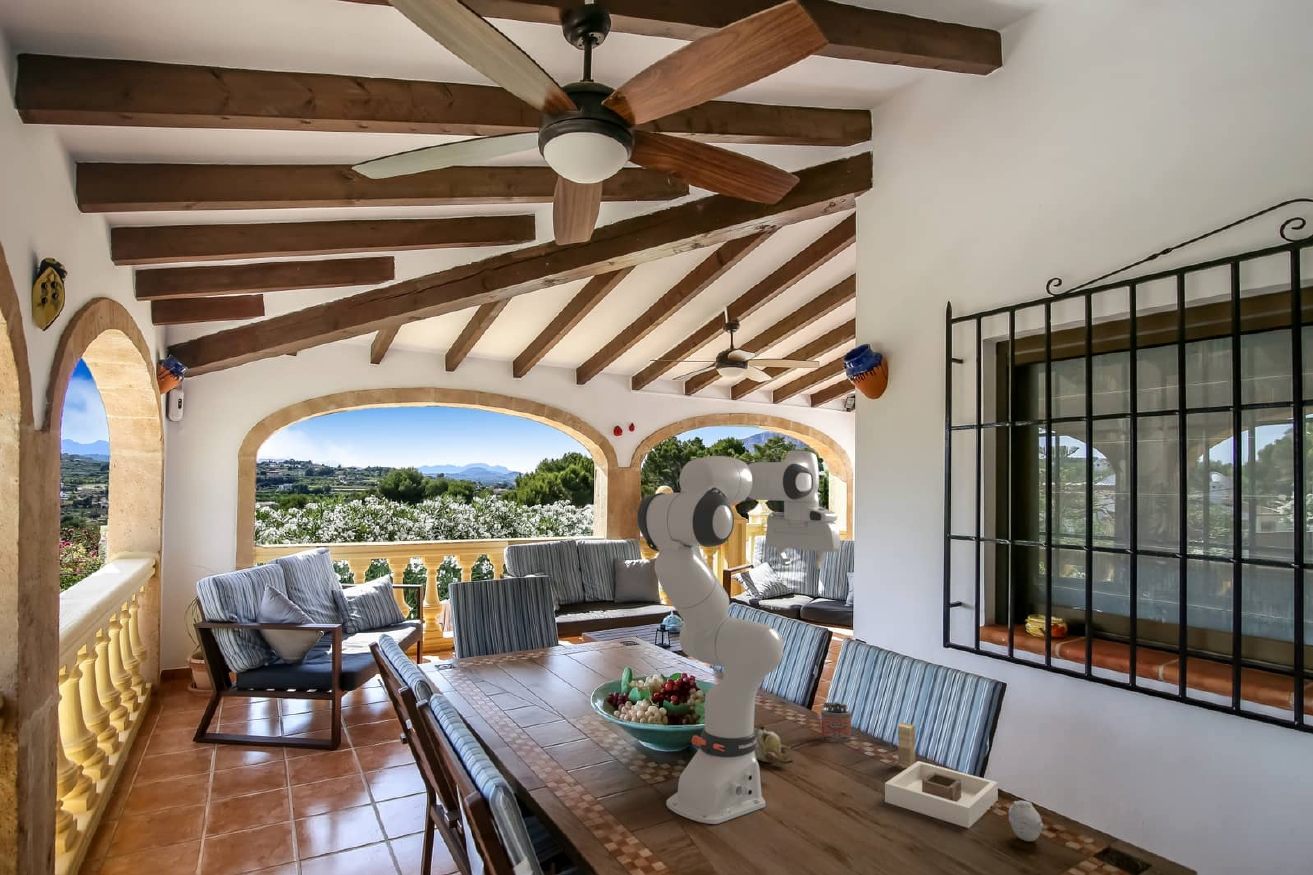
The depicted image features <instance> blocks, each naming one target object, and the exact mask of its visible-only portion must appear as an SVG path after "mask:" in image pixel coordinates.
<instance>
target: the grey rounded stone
mask: <svg viewBox="0 0 1313 875" xmlns="http://www.w3.org/2000/svg"><path fill="white" fill-rule="evenodd" d="M1008 821H1009V823H1010V826H1011V829H1012V830H1013V832H1014V834H1015V835H1016V836H1017V837H1018V838H1019V839H1020V840H1022V841H1024V842H1025V841H1026V842H1034V841H1035V840H1037V839H1039V836H1040V835H1041V833H1042V832H1043V828H1044V824H1043V821H1042V819H1041V815H1040V813H1039V812H1038V811H1037V810H1036V808H1035V807H1034V806H1033V803H1032V802H1030V801H1027V800H1016V801H1013V803H1012V804H1011V805H1010V807H1009V809H1008Z"/></svg>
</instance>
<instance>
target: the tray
mask: <svg viewBox="0 0 1313 875" xmlns="http://www.w3.org/2000/svg"><path fill="white" fill-rule="evenodd" d="M998 785H999V784H998V782H997V781H995V780H990V779H988V778H984V777H980V776H977V775H972V774H968V773H965V772H961V771H957V770H953V769H950V768H946V767H942V766H938V765H934V764H932V763H927V762H923V761H919V760H917V761H915V763H914V764H913V765H911V766H910V767H908V768H907V769H904V770H902V771H901V772H899V773H898V774H897V775H895V776H893V777H892V778H890V779H889V780H887V781H886V782H885V783H884V802H885V803H888V804H890V805H893V806H897V807H901V808H903V809H906V810H910V811H913V812H916V813H919V814H922V815H924V816H925V815H926V816H929V817H932V818H936V819H937V820H941V821H945V822H947V823H951V824H954V825H957V826H961V827H964V828H966V829H970V828H971V827H972V826H973V825H975V823H977V821H978V820H979V819H981V817H983V815H985V814H986V813H987V812H988V811H989V810H990V809H991V808H992V807H993V806H994V805H995V804H996V803H997V802H998V801H999V798H998V797H999V795H998V793H999V791H998V790H999V789H998ZM996 801H997V802H996ZM995 802H996V803H995ZM994 803H995V804H994ZM991 806H992V807H991ZM990 807H991V808H990ZM987 810H988V811H987Z"/></svg>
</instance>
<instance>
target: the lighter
mask: <svg viewBox="0 0 1313 875" xmlns="http://www.w3.org/2000/svg"><path fill="white" fill-rule="evenodd" d="M847 706H848V705H847V703H840V702H839V701H835V702H829V701H827V702H826V701H824V702H823V708H825V709H821V710H820V715H821V734H820V740H821V741H823V742H832V743H851V742H852V737H851V717H852V712H851V711H849V710H847ZM850 741H851V742H850Z"/></svg>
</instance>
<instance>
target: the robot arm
mask: <svg viewBox="0 0 1313 875" xmlns="http://www.w3.org/2000/svg"><path fill="white" fill-rule="evenodd" d="M785 457H786V458H785V459H783V460H781V461H780V462H778V461H776V462H775V461H773V462H771V461H770V462H766V461H764V462H763V461H762V462H761V461H760V462H759V461H746V462H745V461H743V460H741V459H738V458H736V457H733V456H732V457H731V456H726V455H725V456H723V455H712V456H703V457H699V458H694V459H692V460H690V461H688V462H687V463H685V465H684V466H683V467H682V469H681V471H680V472H679V473H680V474H679V478H678V479H679V486H680V487H679V488H680V492H670V493H669V492H668V493H664V492H659V493H658V492H657V493H654V494H651V495H649V496H646V497H645V498H643V500H641V502H640V504H639V506H638V510H637V514H636V519H637V525H638V529H639V531H640V534H641V536H642V537H643V538H644V540H645V541H646V545H647V547H649V548H650V549H651V550H652V551H655V552H658V554H657V556H656V558H655V560H654V572H655V574H656V578H657V579H658V582H659V585H660V587H661V588H662V591H663V592H664V594H665V596H666V597H667V599H668V600H669V602H670V604H671V605H672V606H673V607H674V609H675V610H676V612H677V613H678V615H679V616H680V618H681V619H682V621H683V624H682V625H681V628H680V631H679V644H680V648H681V650H682V651H683V653H684V654H685V655H687V656H688V657H690V658H692V659H694V660H697V661H699V662H700V663H703V664H709V665H712V666H713V665H714V666H718V667H720V668H721V667H722V668H723V671H724V673H723V677H722V681H721V682H718V683H716V684H715V685H713V686H711V688H709V689H708V690H707V692H706V694H705V696H704V727H703V729H702V733H701V735H700V736H698V735H696V734H695V735H693V736H692V738H691V744H692V745H693V746H698V750H697V752H695V754H694V756H693V757H692V759H691V760H690V761H689V763H688V764H687V766H686V767H685V768H684V769H683V771H682V773H680V775H679V779H678V786H677V792H675V793H674V794H672V795H671V796H670V797H669V798H668V799H666V802H665V803H666V804H665V805H666V807H667V809H669V810H671V811H672V812H674V813H675V814H677V815H679V816H682V817H683V818H687V819H690V820H692V821H694V822H695V821H696V822H699V823H704V824H709V825H710V824H711V825H718V824H722V823H724V822H727V821H729V820H732V819H735V818H738V817H741V816H744V815H747V814H750V813H752V812H755V811H758V810H760V809H763V808H765V807H766V800H765V798H764V797H763V796H762V785H761V775H760V774H761V773H760V772H761V771H760V765H759V762H758V759H756V756H755V751H754V750H755V749H756V731H755V730H754V729H755V712H756V711H755V706H756V698H757V693H758V690H759V688H760V685H761V683H762V682H763V680H764V679H765V678H766V677H767V676H768V675H769V674H771V673H772V672H774V671H775V670H776V669H777V668H778V666H779V665H780V663H781V661H782V659H783V655H784V642H783V639H782V637H781V635H780V633H779V631H778V630H777V629H775V628H773V627H771V626H769V625H766V624H763V623H761V622H758V621H753V620H747V619H741V618H735V617H732V616H729V615H728V612H729V609H730V598H729V595H728V593H727V591H726V590H725V588H724V586H723V585H722V584H721V582H720V580H719V578H717V576H716V575H715V573H714V571H713V570H712V568H711V567H710V566H709V564H708V563H707V562H706V561H705V560H704V558H703V555H702V553H701V550H700V547H705V548H711V547H717V546H721V545H723V544H725V543H726V542H727V541H728V540H729V538H730V536H731V535H732V532H733V529H734V526H735V525H734V524H735V515H734V512H733V509H732V505H734V504H738V503H741V502H743V501H760V500H761V501H762V500H763V501H779V502H780V501H782V502H783V510H784V512H782V511H781V512H779V511H778V512H777V511H772V512H771V513H769V514H768V515H767V517H766V525H767V526H766V530H765V539H764V541H765V545H766V546H767V547H769V548H777V554H778V556H779V557H780V559H781V562H780V563H781V566H785V567H787V566H790V565H791V564H790V561H791V559H790V558H789V557H787V554H786V552H787V549H792V550H804V551H805V550H806V551H816V555H817V556H818V557H817V559H816V560H815V561H813V564H812V565H813V566H812V567H813V569H814V570H822V568H823V562H824V560H825V558H826V556H827V552H828V553H831V552H832V553H834V552H835V553H836V552H838V550H839V549H840V547H841V540H840V539H841V535H840V529H839V526H838V524H837V522H836V521H837V520H838V513H836V512H835V511H832V510H830V509H826V508H824V507H822V506H820V498H819V495H818V490H819V486H820V470H819V461H818V458H817V454H815V453H814V452H813V451H811V450H806V449H791V450H788V451H787V453H786V456H785Z"/></svg>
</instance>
